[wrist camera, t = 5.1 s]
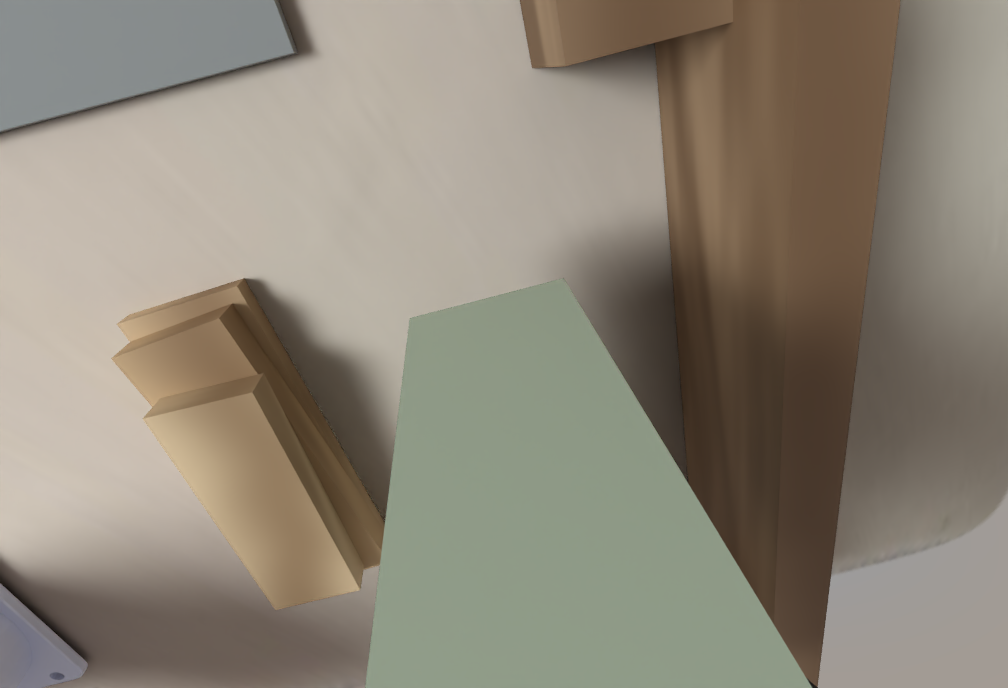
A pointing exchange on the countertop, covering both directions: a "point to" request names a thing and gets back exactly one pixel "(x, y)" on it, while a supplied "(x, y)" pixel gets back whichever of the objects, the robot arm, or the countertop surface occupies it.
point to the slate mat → (124, 49)
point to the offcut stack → (252, 443)
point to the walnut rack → (761, 255)
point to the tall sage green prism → (549, 522)
